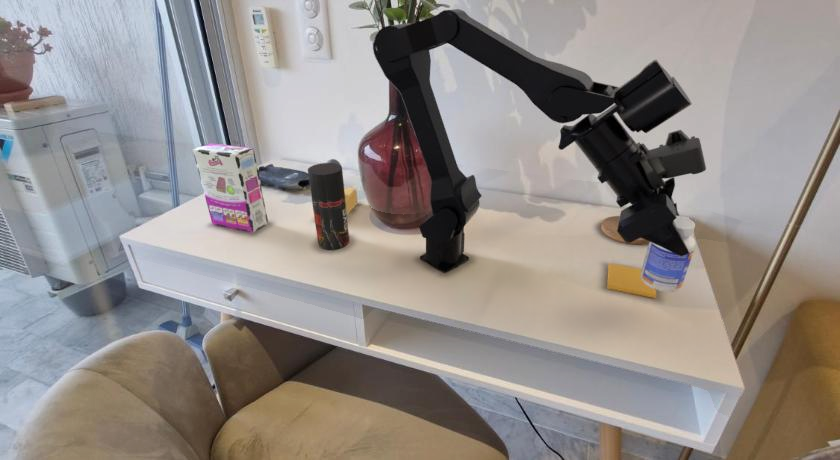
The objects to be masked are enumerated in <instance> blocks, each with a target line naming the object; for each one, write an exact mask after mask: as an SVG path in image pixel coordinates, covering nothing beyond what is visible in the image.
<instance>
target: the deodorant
mask: <svg viewBox="0 0 840 460" xmlns="http://www.w3.org/2000/svg"><path fill="white" fill-rule="evenodd" d="M307 173H308V176H309V183H310V185H309V190H310V196H311V197H310V198H311V203H312V210H313V217H314V224H315V231H316V238H317V245H318V248H320V249H321V250H324V251H338V250H341V249H344V248H346V247H347V246H348V245H349V244H350V233H349V223H348V222H349V221H348V215H347V212H346V202H345V192H344V188H345V183H344V182H345V181H344V175H343V166H342V165H339V164H335V163H327V162H323V163H316V164H314V165H311V166H309V167H308V168H307Z"/></svg>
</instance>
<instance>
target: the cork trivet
mask: <svg viewBox="0 0 840 460" xmlns="http://www.w3.org/2000/svg"><path fill="white" fill-rule="evenodd" d="M619 218H620V215H614V216H609V217H606V218H604V219H603V220H602V222H601V225H600V229H601V232H602V233H603V234H604V235H606V236H607V237H608V238H611V239H612V240H614V241H617V242H620V243H624V244H627V243H626V242H625V241H624V239H623V238H622V237H621V236H620V234H619V233H618V232H617V229H618V223H619ZM628 244H629V245H646V244H647V245H648V244H649V241H647V240H645V239H643V238H639V239H637V240H635V241H633V242H631V243H628Z"/></svg>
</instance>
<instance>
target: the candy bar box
mask: <svg viewBox="0 0 840 460" xmlns="http://www.w3.org/2000/svg"><path fill="white" fill-rule="evenodd" d="M192 153H193V157H194V161H195V165H196V169H197V172H198V176H199V179H200V183H201V188H202V191H203V194H204V198H205V202H206V206H207V209H208V213H209V217H210V221H211V224H212V225H213V226H216V227H220V228H221V227H222V228H227V229H232V230H236V231H240V232H245V233H246V232H247V233H251V234H254V233H257V232H258V231H259V230H261V229H263V228H264V227H266V226H267V225H269V218H268V214H267V210H266V208H267V207H266V203H265V199H264V193H263V189H262V184H260V178H259V173H258V169H259V167H258V163H257V159H256V158H257V157H256V153H255V149H254V148H253V147H246V146H237V145H231V144H222V143H221V144H220V143H213V142H212V143H211V142H210V143H207V144H204V145H201V146H198V147H195V148H193V149H192Z"/></svg>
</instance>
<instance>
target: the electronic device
mask: <svg viewBox="0 0 840 460" xmlns="http://www.w3.org/2000/svg"><path fill="white" fill-rule="evenodd" d="M258 173H259V178H260V184H261V185H263V186H268V187H274V188H276V189H278V190H281V191H284V192H285V191H287V192H296V191H300V190H306V188H307V187H310V183H309V176H308V172H306V171H303V170H300V169H299V170H298V169H294V168H289V167H288V168H287V167H281V166H275V165H274V164H273V163H269V164H268V165H265V166H264V165H261V166H259V167H258Z"/></svg>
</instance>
